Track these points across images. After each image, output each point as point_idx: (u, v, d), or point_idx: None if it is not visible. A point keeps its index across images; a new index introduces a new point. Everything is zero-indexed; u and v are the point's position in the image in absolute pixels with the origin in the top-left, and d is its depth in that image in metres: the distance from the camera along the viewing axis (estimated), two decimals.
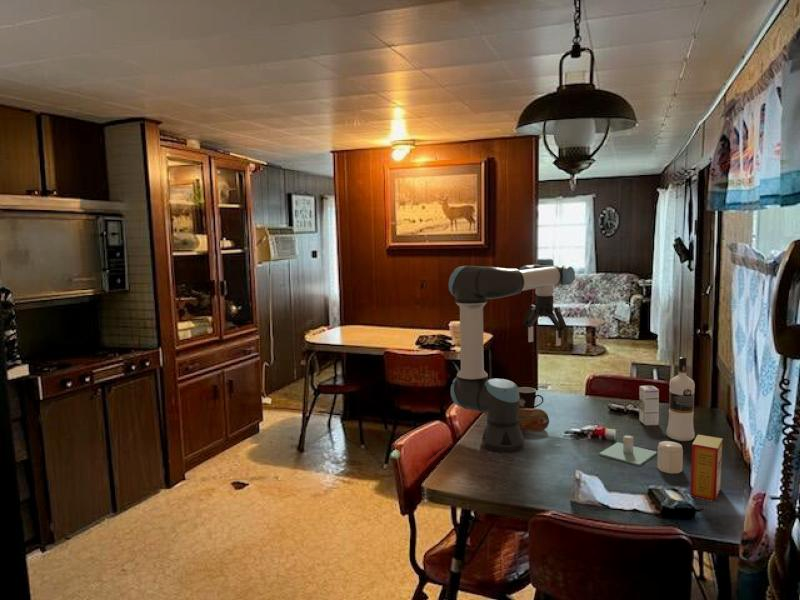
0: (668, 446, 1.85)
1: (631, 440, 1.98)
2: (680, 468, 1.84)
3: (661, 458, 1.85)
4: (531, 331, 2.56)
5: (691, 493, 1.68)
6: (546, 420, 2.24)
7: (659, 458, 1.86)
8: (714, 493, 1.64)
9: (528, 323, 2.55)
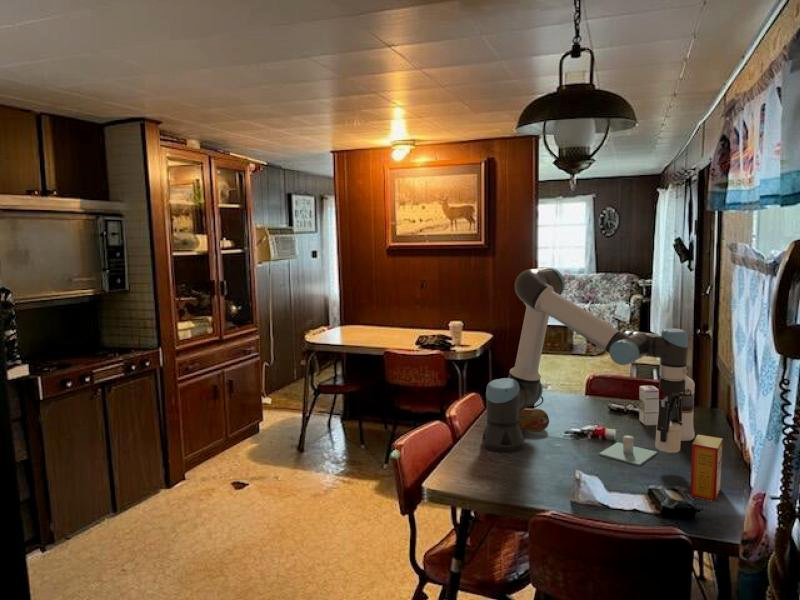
0: None
1: (631, 440, 1.98)
2: (678, 447, 1.84)
3: (659, 437, 1.85)
4: None
5: (691, 493, 1.68)
6: (546, 420, 2.24)
7: (657, 437, 1.86)
8: (714, 493, 1.64)
9: None
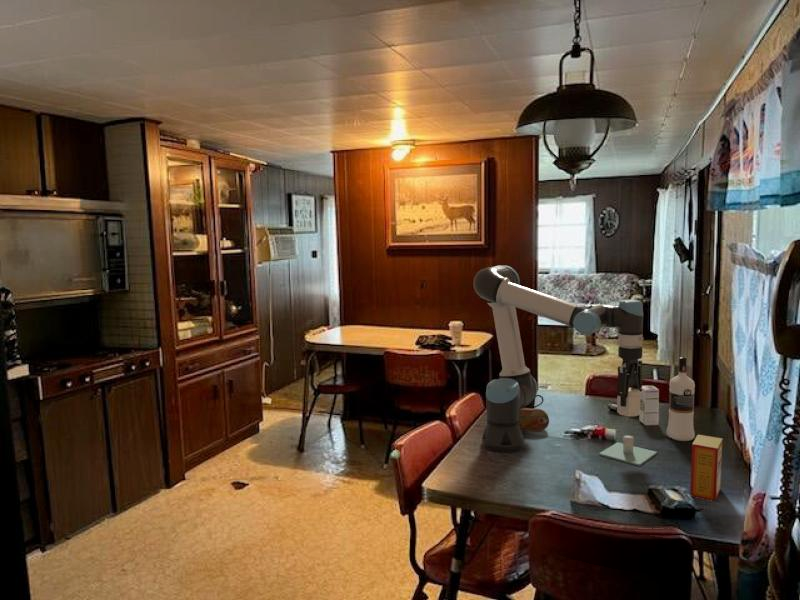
0: None
1: (631, 440, 1.98)
2: (638, 411, 1.95)
3: None
4: None
5: (691, 493, 1.68)
6: (546, 420, 2.24)
7: (618, 402, 1.98)
8: (714, 493, 1.64)
9: None
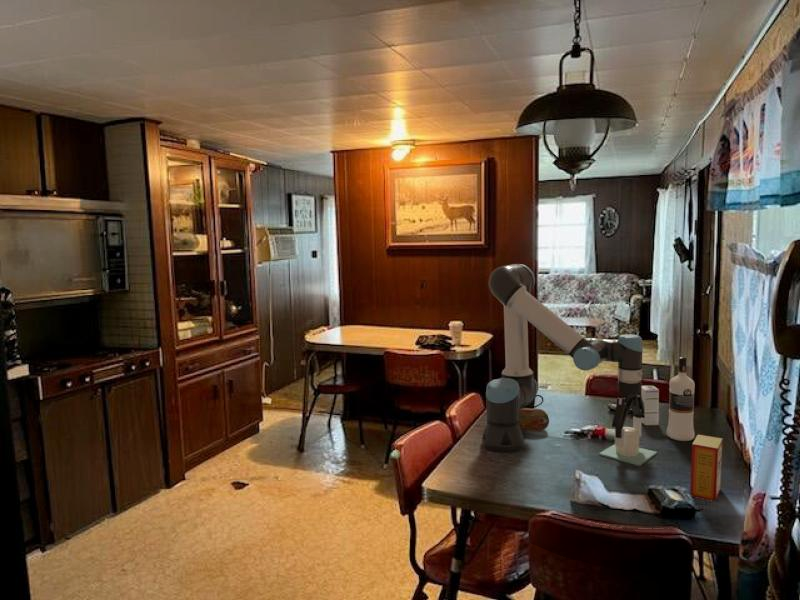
0: (626, 431, 1.97)
1: None
2: (636, 451, 1.97)
3: None
4: (636, 423, 2.03)
5: (691, 493, 1.68)
6: (546, 420, 2.24)
7: None
8: (714, 493, 1.64)
9: None
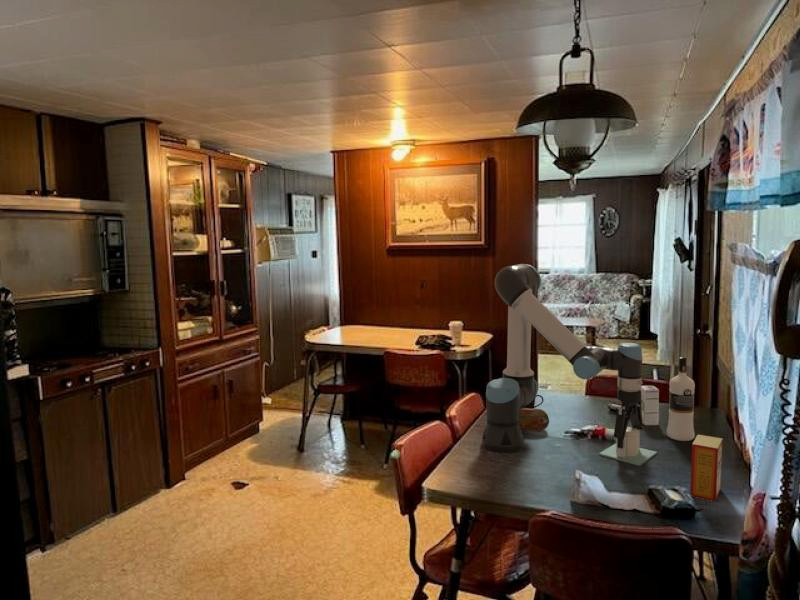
0: (626, 431, 1.97)
1: None
2: (636, 451, 1.97)
3: None
4: None
5: (691, 493, 1.68)
6: (546, 420, 2.24)
7: None
8: (714, 493, 1.64)
9: None
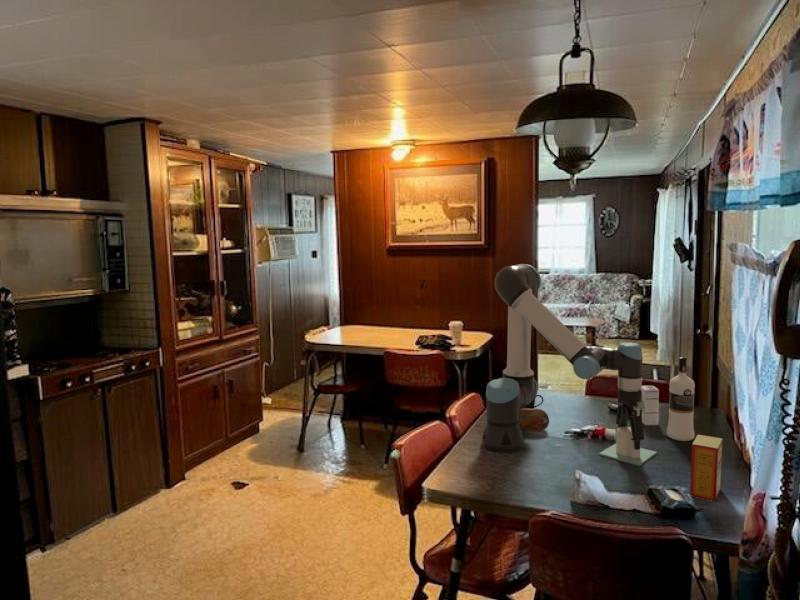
0: (626, 431, 1.97)
1: None
2: None
3: (619, 442, 1.98)
4: None
5: (691, 493, 1.68)
6: (546, 420, 2.24)
7: (617, 442, 1.99)
8: (714, 493, 1.64)
9: (619, 423, 2.04)
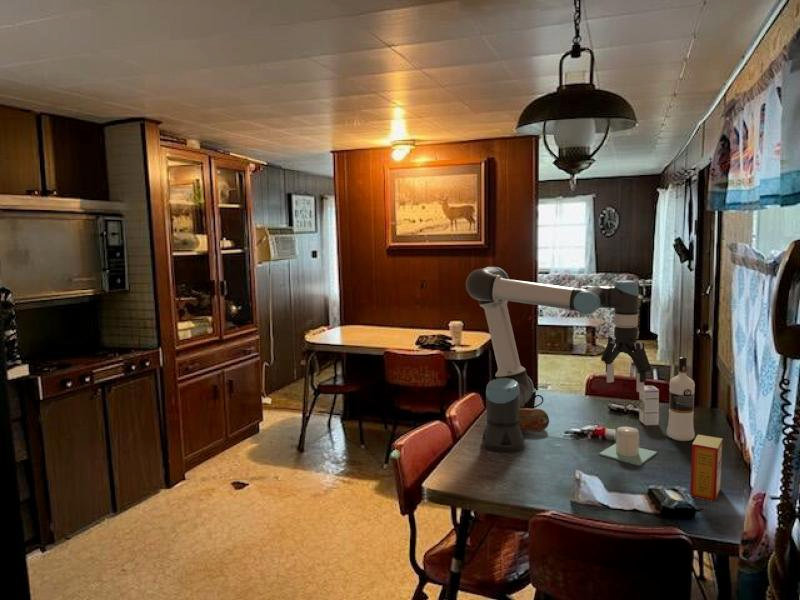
0: (626, 431, 1.97)
1: None
2: (636, 451, 1.97)
3: (619, 442, 1.98)
4: (611, 369, 2.06)
5: (691, 493, 1.68)
6: (546, 420, 2.24)
7: (617, 442, 1.99)
8: (714, 493, 1.64)
9: (607, 359, 2.06)
